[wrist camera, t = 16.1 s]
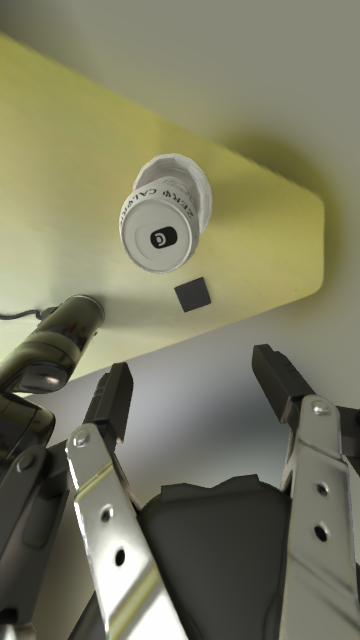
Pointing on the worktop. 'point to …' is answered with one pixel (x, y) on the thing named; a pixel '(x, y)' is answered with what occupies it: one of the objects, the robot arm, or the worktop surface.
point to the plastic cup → (187, 174)
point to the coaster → (192, 295)
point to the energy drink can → (160, 225)
